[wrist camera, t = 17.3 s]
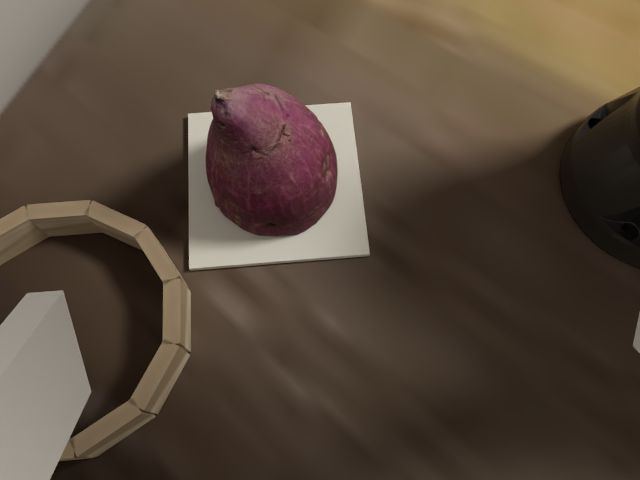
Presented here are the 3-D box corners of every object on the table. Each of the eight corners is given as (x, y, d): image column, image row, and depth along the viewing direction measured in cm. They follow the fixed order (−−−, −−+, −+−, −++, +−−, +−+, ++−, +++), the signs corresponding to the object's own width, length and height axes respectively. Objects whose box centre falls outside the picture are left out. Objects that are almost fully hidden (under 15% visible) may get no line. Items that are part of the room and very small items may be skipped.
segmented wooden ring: (189, 211, 45) (180, 193, 42) (191, 448, 39) (180, 447, 36) (-38, 229, 45) (-66, 211, 41) (-74, 473, 38) (-111, 475, 35)
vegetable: (241, 260, 47) (155, 228, 32) (209, 149, 49) (115, 71, 34) (360, 218, 45) (327, 164, 31) (322, 105, 48) (274, 5, 33)
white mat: (350, 105, 49) (350, 102, 49) (369, 256, 44) (369, 254, 44) (189, 117, 49) (188, 113, 48) (190, 270, 44) (189, 268, 43)
